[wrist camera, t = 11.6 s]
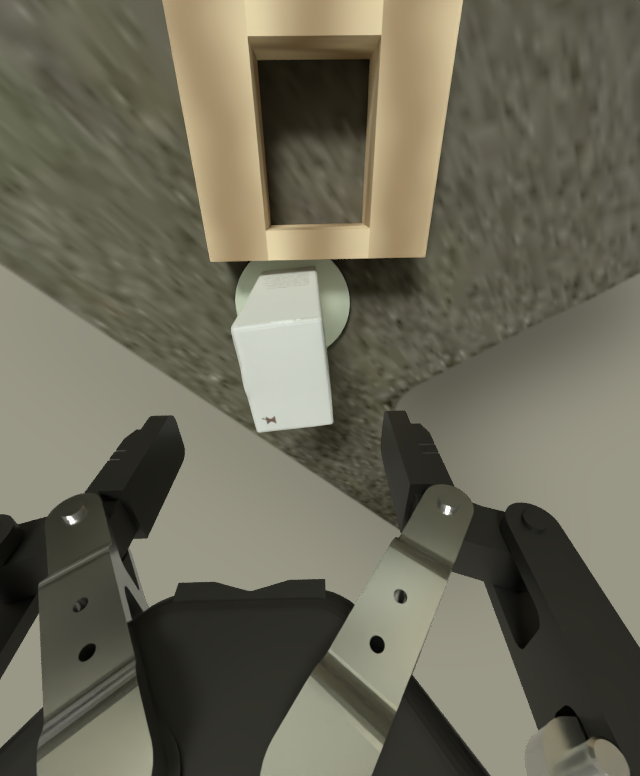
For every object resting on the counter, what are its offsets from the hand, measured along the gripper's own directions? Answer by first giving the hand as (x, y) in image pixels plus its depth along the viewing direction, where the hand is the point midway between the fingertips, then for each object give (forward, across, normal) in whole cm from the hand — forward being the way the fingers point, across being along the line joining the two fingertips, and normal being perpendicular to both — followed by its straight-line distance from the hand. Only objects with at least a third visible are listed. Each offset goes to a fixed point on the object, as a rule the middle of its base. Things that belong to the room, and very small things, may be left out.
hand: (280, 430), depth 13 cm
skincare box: (+16, 0, 0) cm, 16 cm away
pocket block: (+16, -2, -10) cm, 19 cm away
